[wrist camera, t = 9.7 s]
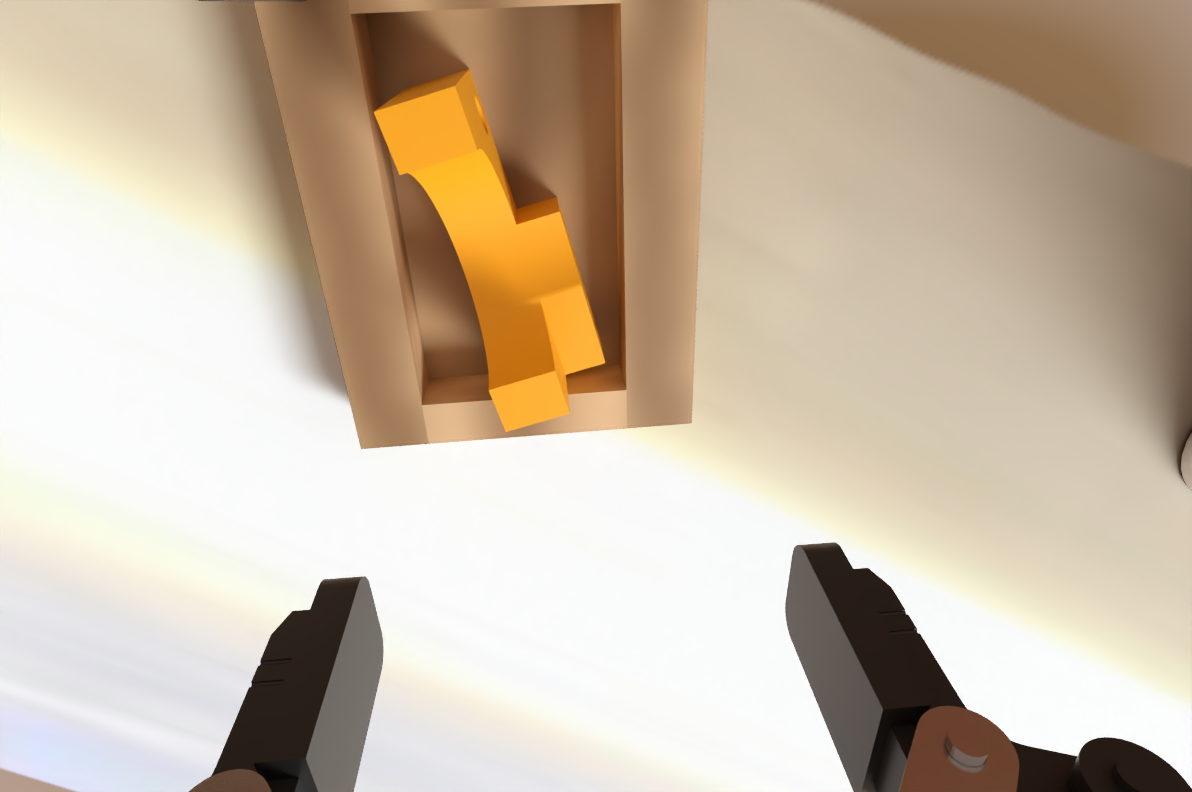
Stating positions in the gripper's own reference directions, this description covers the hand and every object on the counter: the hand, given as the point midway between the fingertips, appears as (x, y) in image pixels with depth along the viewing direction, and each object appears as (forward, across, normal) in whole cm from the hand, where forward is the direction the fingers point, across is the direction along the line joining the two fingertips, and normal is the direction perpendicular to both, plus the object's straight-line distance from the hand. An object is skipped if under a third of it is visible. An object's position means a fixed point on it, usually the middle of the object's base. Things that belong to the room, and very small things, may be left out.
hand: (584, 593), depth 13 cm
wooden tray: (+20, +2, -2) cm, 20 cm away
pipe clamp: (+20, +2, -2) cm, 20 cm away
